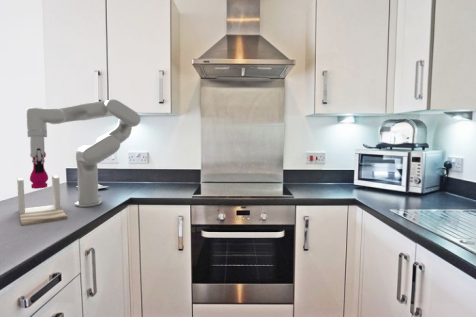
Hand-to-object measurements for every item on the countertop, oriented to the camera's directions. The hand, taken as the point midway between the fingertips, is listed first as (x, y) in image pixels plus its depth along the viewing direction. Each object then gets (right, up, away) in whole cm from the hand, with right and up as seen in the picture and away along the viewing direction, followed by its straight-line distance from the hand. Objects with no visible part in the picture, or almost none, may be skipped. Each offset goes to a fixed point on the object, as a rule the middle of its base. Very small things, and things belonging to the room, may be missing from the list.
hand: (39, 171), depth 133 cm
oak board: (+8, -20, -9) cm, 23 cm away
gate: (-2, -19, +3) cm, 20 cm away
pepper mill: (0, -8, +1) cm, 8 cm away
